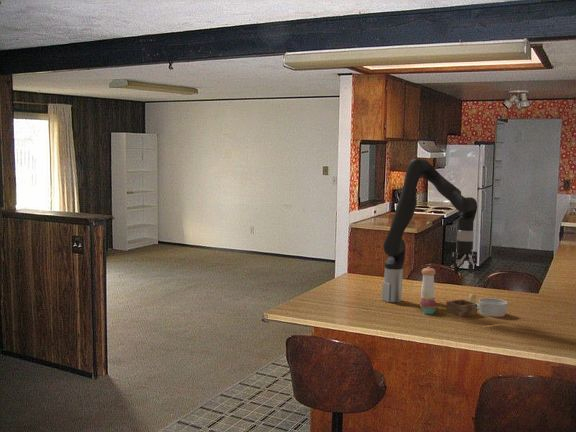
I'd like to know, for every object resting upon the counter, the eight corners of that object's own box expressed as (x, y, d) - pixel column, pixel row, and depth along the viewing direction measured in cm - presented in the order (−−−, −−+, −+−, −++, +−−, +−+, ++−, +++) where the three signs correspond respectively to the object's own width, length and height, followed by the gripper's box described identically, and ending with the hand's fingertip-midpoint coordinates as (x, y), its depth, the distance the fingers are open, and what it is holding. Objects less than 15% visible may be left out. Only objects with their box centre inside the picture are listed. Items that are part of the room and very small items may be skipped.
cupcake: (427, 317, 286) (428, 292, 285) (415, 313, 293) (416, 288, 292) (441, 315, 290) (442, 290, 288) (429, 311, 297) (430, 287, 296)
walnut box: (460, 318, 285) (460, 306, 284) (445, 313, 294) (446, 301, 293) (476, 316, 289) (477, 304, 288) (461, 311, 298) (462, 299, 297)
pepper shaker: (417, 303, 312) (418, 266, 310) (424, 301, 317) (426, 264, 315) (429, 306, 307) (431, 268, 305) (437, 303, 313) (438, 266, 311)
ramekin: (503, 312, 298) (503, 298, 297) (510, 319, 285) (511, 305, 284) (475, 311, 299) (476, 297, 299) (481, 318, 286) (481, 303, 286)
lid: (471, 310, 298) (472, 297, 297) (457, 305, 307) (458, 293, 306) (486, 308, 302) (487, 295, 301) (472, 303, 311) (473, 291, 310)
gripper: (458, 241, 281) (457, 276, 283) (482, 240, 288) (480, 273, 289) (447, 239, 288) (446, 273, 290) (470, 237, 294) (469, 271, 296)
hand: (463, 273), depth 289 cm, fingers open, 8 cm apart
